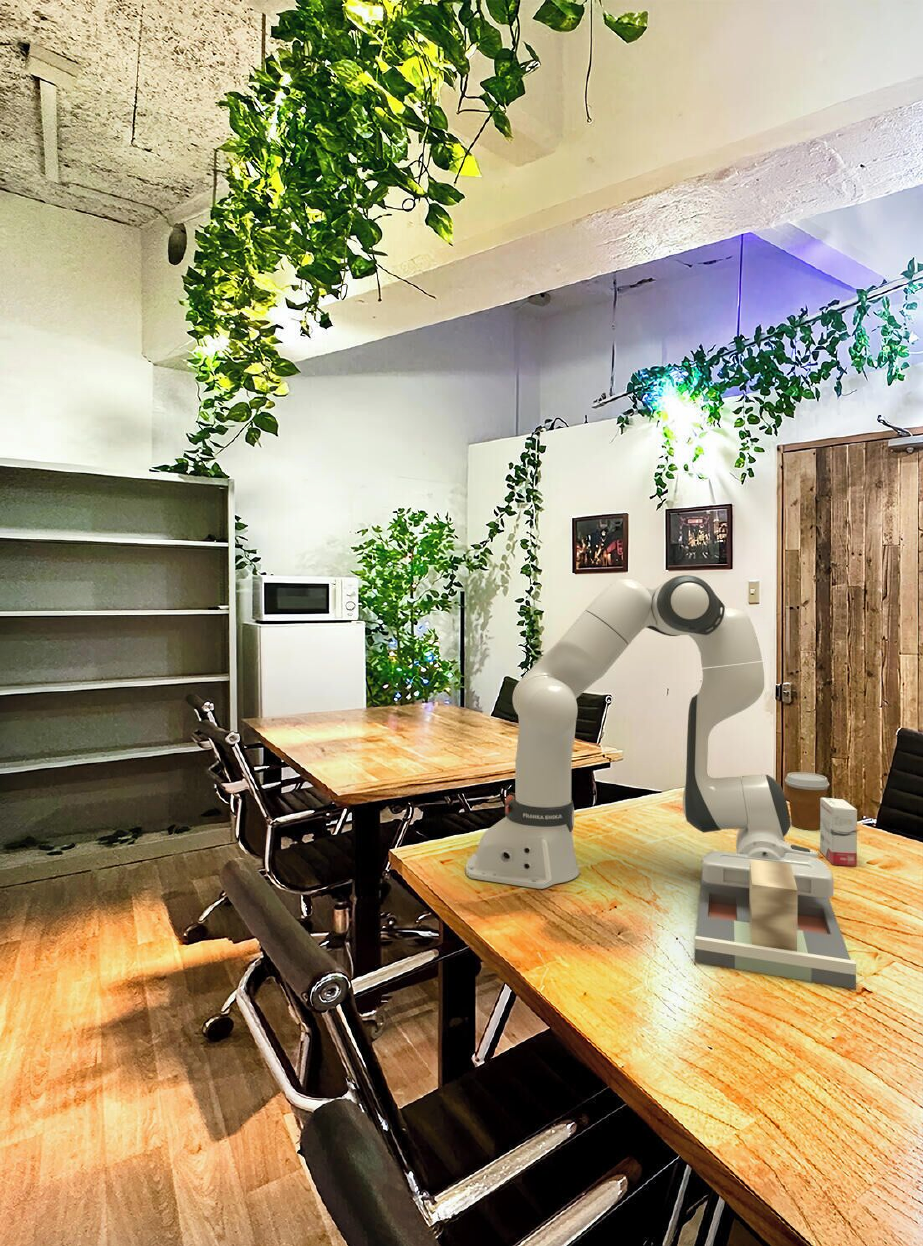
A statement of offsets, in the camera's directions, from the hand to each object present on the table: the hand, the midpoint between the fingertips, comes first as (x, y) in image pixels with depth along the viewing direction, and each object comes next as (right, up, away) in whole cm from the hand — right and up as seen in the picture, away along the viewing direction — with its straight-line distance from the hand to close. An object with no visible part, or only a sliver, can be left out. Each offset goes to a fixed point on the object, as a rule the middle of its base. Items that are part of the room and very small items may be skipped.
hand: (768, 891), depth 112 cm
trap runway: (+2, -7, +5) cm, 9 cm away
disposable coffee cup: (+34, -6, +56) cm, 65 cm away
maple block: (-2, -5, -5) cm, 8 cm away
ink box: (+30, -6, +34) cm, 46 cm away
